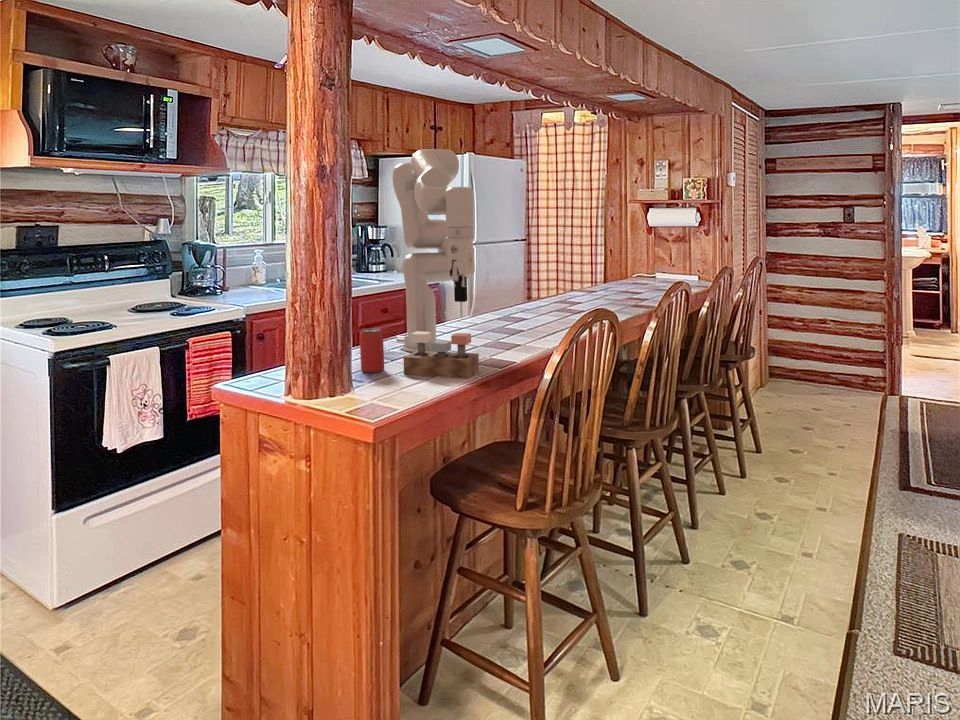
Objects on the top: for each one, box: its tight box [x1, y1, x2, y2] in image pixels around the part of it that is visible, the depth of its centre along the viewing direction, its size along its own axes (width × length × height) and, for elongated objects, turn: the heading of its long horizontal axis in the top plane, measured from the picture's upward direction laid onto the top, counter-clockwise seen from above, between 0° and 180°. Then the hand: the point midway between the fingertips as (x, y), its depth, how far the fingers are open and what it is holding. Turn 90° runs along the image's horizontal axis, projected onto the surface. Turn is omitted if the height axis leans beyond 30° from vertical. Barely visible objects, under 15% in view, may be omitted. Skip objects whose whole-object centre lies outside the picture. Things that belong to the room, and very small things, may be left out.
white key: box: [411, 331, 431, 356], centre depth 204 cm, size 4×4×7 cm
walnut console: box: [403, 350, 480, 379], centre depth 203 cm, size 19×10×5 cm, turn 73°
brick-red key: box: [450, 332, 472, 358], centre depth 201 cm, size 4×4×7 cm
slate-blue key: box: [431, 339, 452, 357], centre depth 203 cm, size 4×4×7 cm
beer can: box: [359, 327, 385, 374], centre depth 205 cm, size 7×7×12 cm
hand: (460, 301), depth 198 cm, fingers closed
